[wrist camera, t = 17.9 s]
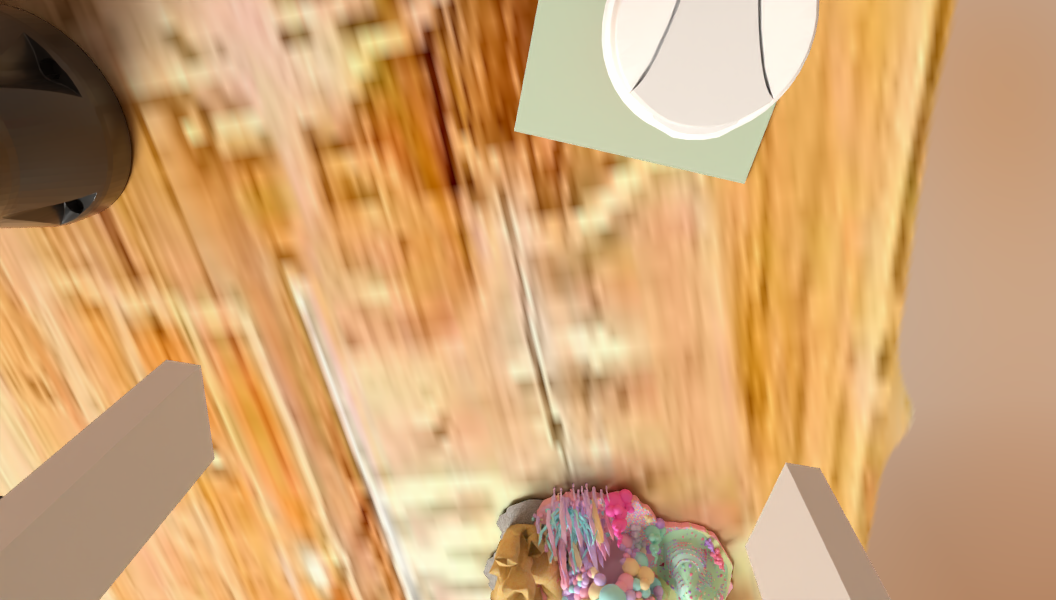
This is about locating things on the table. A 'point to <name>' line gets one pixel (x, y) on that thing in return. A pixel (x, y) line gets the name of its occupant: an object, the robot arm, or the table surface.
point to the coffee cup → (705, 59)
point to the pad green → (610, 101)
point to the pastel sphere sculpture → (603, 552)
